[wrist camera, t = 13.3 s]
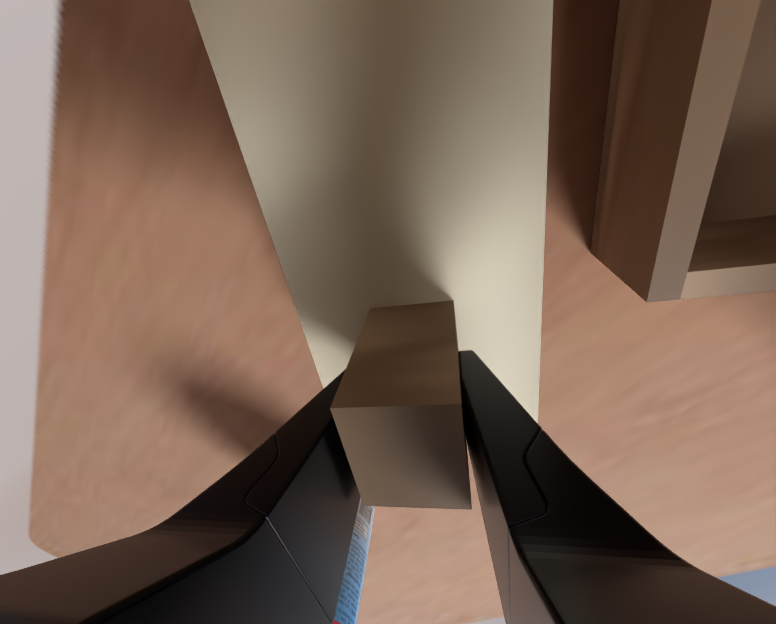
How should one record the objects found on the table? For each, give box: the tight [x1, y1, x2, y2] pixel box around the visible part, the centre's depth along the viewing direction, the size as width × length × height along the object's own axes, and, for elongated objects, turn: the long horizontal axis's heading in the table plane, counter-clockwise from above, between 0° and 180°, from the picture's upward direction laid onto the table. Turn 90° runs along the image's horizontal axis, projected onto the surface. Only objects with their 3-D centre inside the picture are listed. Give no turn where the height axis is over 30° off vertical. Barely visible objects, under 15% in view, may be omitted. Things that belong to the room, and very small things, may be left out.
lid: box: [189, 0, 553, 509], centre depth 7 cm, size 7×14×5 cm, turn 11°
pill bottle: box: [332, 498, 375, 624], centre depth 18 cm, size 6×6×11 cm
